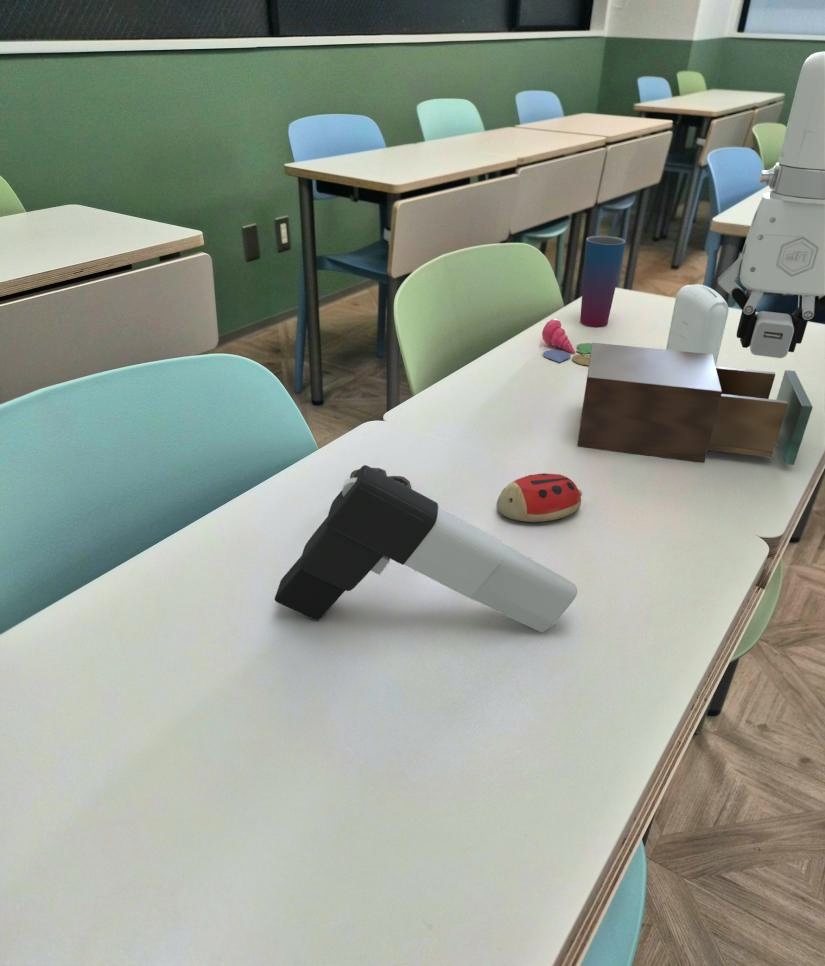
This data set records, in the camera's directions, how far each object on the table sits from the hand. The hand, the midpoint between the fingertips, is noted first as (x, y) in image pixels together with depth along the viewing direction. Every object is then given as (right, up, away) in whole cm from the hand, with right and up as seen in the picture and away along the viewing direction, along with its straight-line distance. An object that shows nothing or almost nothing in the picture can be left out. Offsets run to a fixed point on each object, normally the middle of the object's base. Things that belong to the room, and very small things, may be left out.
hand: (766, 344), depth 88 cm
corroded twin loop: (-46, -18, -4) cm, 50 cm away
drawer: (-1, -11, +7) cm, 13 cm away
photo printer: (+3, +3, +32) cm, 32 cm away
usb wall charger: (0, 0, 0) cm, 1 cm away
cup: (-9, +13, +48) cm, 51 cm away
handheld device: (-42, -29, -22) cm, 55 cm away
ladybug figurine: (-29, -20, -7) cm, 35 cm away
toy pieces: (-16, +5, +35) cm, 39 cm away
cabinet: (-12, -10, +10) cm, 19 cm away
